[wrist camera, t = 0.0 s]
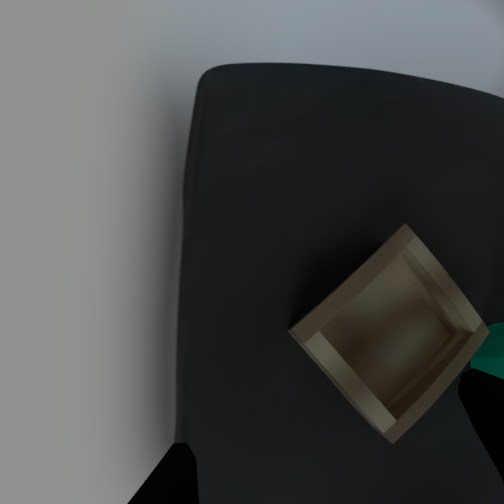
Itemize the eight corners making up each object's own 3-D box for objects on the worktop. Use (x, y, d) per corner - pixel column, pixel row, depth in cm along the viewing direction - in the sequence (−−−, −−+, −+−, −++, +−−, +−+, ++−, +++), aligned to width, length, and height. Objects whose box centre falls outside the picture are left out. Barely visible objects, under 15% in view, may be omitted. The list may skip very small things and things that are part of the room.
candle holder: (459, 334, 22) (490, 331, 18) (373, 427, 21) (392, 443, 16) (384, 241, 25) (405, 223, 20) (287, 330, 23) (291, 329, 19)
